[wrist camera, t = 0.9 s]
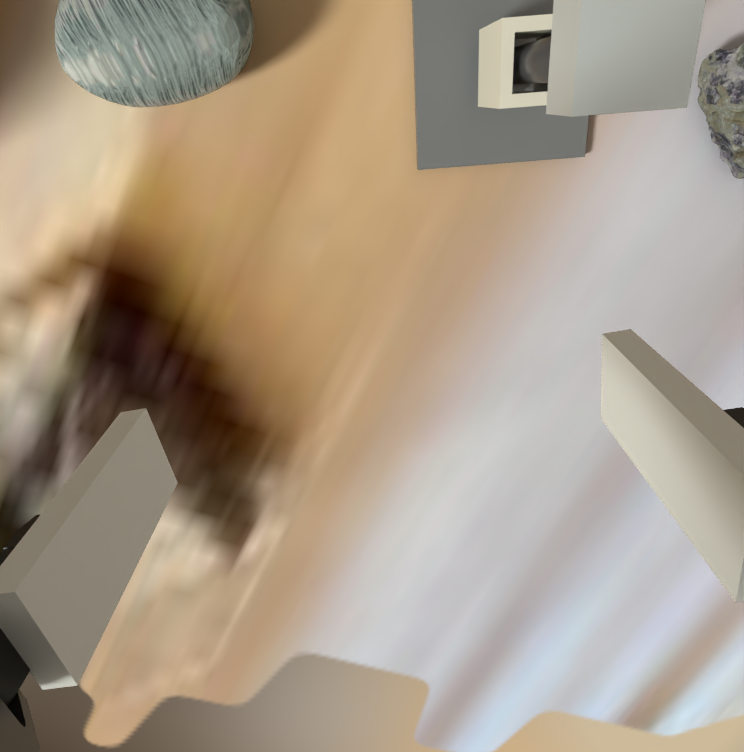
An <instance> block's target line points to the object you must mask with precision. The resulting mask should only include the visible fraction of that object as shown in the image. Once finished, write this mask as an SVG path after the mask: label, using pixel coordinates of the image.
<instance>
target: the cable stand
mask: <svg viewBox="0 0 744 752" xmlns="http://www.w3.org/2000/svg"><path fill="white" fill-rule="evenodd" d="M705 2H706V0H412V14H413V46H414V79H415V111H416V143H417V169H418V170H423V169H435V168H448V167H460V166H473V165H486V164H498V163H511V162H524V161H536V160H549V159H561V158H574V157H585V150H586V140H587V130H588V120H589V115H600V114H613V113H625V112H638V111H650V110H663V109H675V108H687V105H688V99H689V93H690V88H691V82H692V76H693V70H694V65H695V59H696V53H697V48H698V42H699V36H700V31H701V25H702V19H703V14H704V8H705ZM544 14H553V18H552V32H551V37H548V38H544V39H541V40H537V41H536V38H531V39H518V40H514V62H513V85H512V92H520V91H533V88H534V84H535V83H548V91H547V105H542V106H530V107H517V108H505V109H495V108H486V107H478V70H479V30H480V29H482V28H484V27H486V26H488V25H490V24H491V23H493V22H495V21H497V20H499V19H501V18H508V17H520V16H532V15H544Z"/></svg>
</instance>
